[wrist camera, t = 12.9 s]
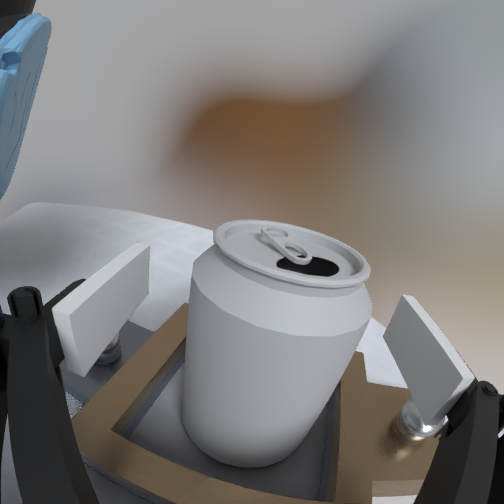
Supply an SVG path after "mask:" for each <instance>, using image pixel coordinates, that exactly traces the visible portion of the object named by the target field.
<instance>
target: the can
mask: <svg viewBox="0 0 504 504" xmlns="http://www.w3.org/2000/svg"><path fill="white" fill-rule="evenodd" d="M213 239H214V243H215V244H214V245H213V246H211V247H210V248H209V249H207V250H206V251H205V252H204V253H202V254H201V255H200V256H199V257H198V258H197V259H196V260H195V261H194V263H193V270H192V279H191V288H190V299H189V310H188V322H187V334H186V349H185V366H184V386H183V418H182V420H183V423H184V426H185V428H186V431H187V433H188V436H189V437H190V438H191V440H192V441H193V442H194V443H195V444H196V445H197V446H198V448H199V449H200V450H201V451H202V452H204V453H206V454H207V455H209V456H211V457H212V458H214V459H216V460H218V461H219V462H221V463H225V464H229V465H233V466H237V467H242V468H250V467H266V466H268V465H271V464H274V463H277V462H279V461H282V460H284V459H285V458H287V457H288V456H289V455H290V454H291V453H292V452H294V451H295V450H296V449H297V448H298V447H299V445H300V444H301V442H302V441H303V439H304V438H305V436H306V435H307V433H308V432H309V430H310V429H311V427H312V426H313V424H314V423H315V421H316V420H317V418H318V416H319V415H320V413H321V412H322V410H323V408H324V407H325V405H326V403H327V402H328V400H329V398H330V397H331V395H332V393H333V391H334V390H335V388H336V386H337V384H338V383H339V381H340V379H341V377H342V375H343V373H344V372H345V370H346V368H347V366H348V364H349V362H350V360H351V358H352V356H353V354H354V352H355V350H356V348H357V346H358V344H359V342H360V340H361V338H362V336H363V334H364V331H365V329H366V327H367V325H368V323H369V320H370V318H371V313H372V308H373V304H372V302H371V299H370V297H369V294H368V292H367V289H366V287H365V284H364V281H366V280H368V279H369V275H370V271H371V268H370V266H369V264H368V263H367V261H366V259H365V258H364V257H363V256H362V255H361V254H360V253H358V252H357V251H356V250H355V249H353V248H352V247H350V246H348V245H346V244H345V243H343V242H341V241H339V240H337V239H334V238H332V237H330V236H327V235H325V234H322V233H319V232H316V231H313V230H310V229H307V228H302V227H299V226H295V225H291V224H286V223H279V222H273V221H266V220H235V221H231V222H227V223H223V224H222V225H220V226H219V227H218V228H217V229H215V230H214V232H213Z"/></svg>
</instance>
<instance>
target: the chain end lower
mask: <svg viewBox="0 0 504 504" xmlns="http://www.w3.org/2000/svg"><path fill="white" fill-rule="evenodd" d="M153 334H154V332H152V331H150V330H147V329H145V328H143V327H140V326H138V325H136V324H134V323H132V322H129V321H126V322H125V324H124V325H123V326H122V327H121V329H120V330H119V331H118V333H117V334H116V335H115V336H114V338H113V339H112V340H111V342H110V343H109V344H108V346H107V347H106V348H105V350H104V351H103V352H102V354H101V355H100V356H99V358H98V359H97V360H96V362H95V363H94V364H93V366H92V367H91V368H90V370H89V371H88V373H87V374H86V375H85V377H82V376H80V375H78V374H76V373H74V372H72V371H70V370H68V368H67V365H66V362H65V359H64V360H63V361H62V362H61V363H60V364H59V366H60V369H61V372H62V379H63V385H64V390H65V391H67V392H68V393H69V394H71V395H72V396H73V397H75V398H76V399H78V400H79V401H80V402H82V403H83V404H85V405H86V404H87V403H88V402H89V400H90V399H91V398H92V397H93V396H94V395H95V394H96V393H97V392H98V391H99V390H100V389H101V388H102V387H103V386H104V385H105V384H106V383H107V382H108V381H109V380H110V379H111V378H112V377H113V375H114V374H115V373H116V372H117V371H118V370H119V369H120V368H121V367H122V366H123V365H124V364H125V363H126V362H127V361H128V360H129V359H130V358H131V357H132V356H133V355H134V354H135V353H136V352H137V351H138V350H139V349H140V348H141V347H142V346H143V345H144V344H145V343H146V342H147V341H148V340H149V338H150V337H151V336H152V335H153ZM185 349H186V348H185ZM184 360H185V350H184V351H183V352H182V354H181V355H180V356H179V358H178V359H177V360H176V361H175V363H174V364H173V365H172V367H171V368H170V369H169V371H168V372H167V373H166V375H165V376H164V377H163V378H162V380H161V381H160V382H159V384H158V385H157V386H156V388H155V389H154V390H153V392H152V393H151V394H150V395H149V397H148V398H147V399H146V401H145V402H144V403H143V405H142V406H141V407H140V408H139V410H138V411H137V412H136V414H135V415H134V416H133V417H132V419H131V420H130V421H129V423H128V424H127V425H126V427H125V428H124V429H123V430H122V432H121V433H120V434H119V435H120V436H122V437H123V438H125V439H127V438H128V437H129V435H130V434H131V433H132V431H133V430H134V429H135V427H136V426H137V425H138V423H139V422H140V420H141V419H142V418H143V416H144V415H145V414H146V412H147V411H148V410H149V408H150V407H151V406H152V404H153V403H154V401H155V400H156V399H157V397H158V396H159V395H160V393H161V392H162V391H163V389H164V388H165V386H166V385H167V384H168V382H169V381H170V380H171V378H172V377H173V376H174V374H175V373H176V371H177V370H178V369H179V367H180V366H181V365H182V363H183V362H184ZM334 394H335V390H334V391H333V393H332V395H331V397H330V398H329V403H328V418H327V430H326V441H325V451H324V460H323V468H322V476H321V483H320V490H319V497H318V501H321V502H325V501H326V494H327V486H328V478H329V469H330V459H331V447H332V434H333V418H334ZM81 457H82V456H81ZM82 460H83V462H84V463H86V464H87V465H89V466H90V467H92V468H93V469H95V470H96V471H98V472H99V473H101V474H102V475H104V476H105V477H107V478H109V479H110V480H112V481H114V482H115V483H117V484H119V485H120V486H122V487H124V488H126V489H128V490H129V491H131V492H133V493H135V494H137V495H139V496H141V497H143V498H145V499H147V500H149V501H151V502H153V503H155V504H165V503H163V502H160V501H158V500H156V499H154V498H152V497H150V496H148V495H146V494H144V493H142V492H140V491H138V490H136V489H134V488H132V487H130V486H128V485H127V484H125V483H123V482H121V481H119V480H118V479H116V478H114V477H113V476H111V475H109V474H108V473H106V472H105V471H103V470H101V469H100V468H98V467H97V466H95V465H94V464H92V463H91V462H89V461H88V460H86V459H85V458H84V457H82Z"/></svg>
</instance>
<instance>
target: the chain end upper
mask: <svg viewBox="0 0 504 504" xmlns="http://www.w3.org/2000/svg"><path fill="white" fill-rule="evenodd" d="M188 310H189V304H187V303H184V304H183V305H182V306H181V307H180V308H179V309H178V310H177V311H176V312H175V313H174V314H173V315H172V316H171V317H170V318H169V319H168V320H167V321H166V322H165V323H164V324H163V325H162V326H161V327H160V328H159V329H158V330H157V331H156V332H155V333H154V334H153V335H152V336H151V337H150V338H149V340H148V341H147V342H146V343H145V344H144V345H143V346H142V347H141V348H140V349H139V350H138V351H137V352H136V353H135V354H134V355H133V356H132V357H131V358H130V359H129V360H128V361H127V362H126V363H125V364H124V365H123V366H122V367H121V368H120V369H119V370H118V371H117V372H116V373H115V374H114V375H113V377H112V378H111V379H110V380H109V381H108V382H107V383H106V384H105V385H104V386H103V387H102V388H101V389H100V390H99V391H98V392H97V393H96V394H95V395H94V396H93V397H92V398H91V399H90V400H89V402H88V403H87V404H86V405H85V406H84V407H83V408H82V409H81V410H80V411H79V412H78V413H77V414H76V415H75V416H74V417H73V418H72V419H71V423H72V427H73V431H74V434H75V438H76V441H77V445H78V448H79V451H80V454H81V456H82V457H84V458H85V459H86V460H88V461H89V462H91V463H92V464H94V465H95V466H97V467H98V468H100V469H101V470H103V471H105V472H106V473H108V474H109V475H111V476H113V477H114V478H116V479H118V480H119V481H121V482H123V483H125V484H127V485H128V486H130V487H132V488H134V489H136V490H138V491H140V492H142V493H144V494H146V495H148V496H150V497H152V498H154V499H156V500H158V501H160V502H163V503H165V504H372V497H381V496H405V495H417V494H418V493H419V491H420V489H421V487H422V484H423V482H424V480H425V478H426V475H427V473H428V470H429V468H430V465H431V463H432V460H433V457H434V454H435V452H436V449H437V446H438V443H439V440H438V439H439V438H440V437H441V434H440V435H438V436H437V437H436V438H434V436H435V434H436V433H437V432H438V431H439V430H440V429H441V428H442V427H443V426H444V425H443V423H444V420H445V417H444V418H443V419H442V420H441V421H440V422H439V424H438V425H432V426H426V427H425V425H424V423H423V420H422V418H421V416H420V413H419V411H418V409H417V406H416V404H415V402H414V400H413V397H412V395H411V393H410V391H409V389H406V388H399V387H392V386H385V385H379V384H373V383H368V382H367V379H366V370H365V363H364V355H363V353H362V352H357V351H355V352H354V354H353V356H352V358H351V360H350V362H349V364H348V366H347V368H346V370H345V372H344V373H343V375H342V377H341V379H340V381H339V383H338V384H337V386H336V388H335V394H334V418H333V434H332V447H331V459H330V469H329V478H328V486H327V494H326V501H325V502H321V501H313V500H305V499H298V498H292V497H286V496H281V495H275V494H271V493H266V492H262V491H257V490H253V489H249V488H245V487H242V486H238V485H235V484H231V483H228V482H225V481H222V480H218V479H215V478H212V477H210V476H207V475H204V474H201V473H198V472H196V471H193V470H191V469H188V468H186V467H183V466H181V465H178V464H176V463H174V462H171V461H169V460H167V459H165V458H162V457H160V456H158V455H156V454H154V453H152V452H150V451H148V450H146V449H144V448H142V447H140V446H138V445H136V444H134V443H132V442H131V441H129V440H127V439H125V438H123V437H122V436H120V435H119V434H120V433H121V432H122V430H123V429H124V428H125V427H126V425H127V424H128V423H129V421H130V420H131V419H132V417H133V416H134V415H135V414H136V412H137V411H138V410H139V408H140V407H141V406H142V405H143V403H144V402H145V401H146V399H147V398H148V397H149V395H150V394H151V393H152V392H153V390H154V389H155V388H156V386H157V385H158V384H159V382H160V381H161V380H162V378H163V377H164V376H165V375H166V373H167V372H168V371H169V369H170V368H171V367H172V365H173V364H174V363H175V361H176V360H177V359H178V358H179V356H180V355H181V354H182V352H183V351H184V350H185V348H186V334H187V322H188Z"/></svg>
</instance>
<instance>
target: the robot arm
mask: <svg viewBox="0 0 504 504" xmlns="http://www.w3.org/2000/svg"><path fill="white" fill-rule="evenodd" d="M35 2H36V0H0V200H1V199H2V197H3V196H4V194H5V192H6V190H7V188H8V186H9V183H10V181H11V178H12V175H13V172H14V169H15V166H16V162H17V159H18V156H19V152H20V148H21V145H22V141H23V137H24V134H25V130H26V126H27V122H28V119H29V115H30V111H31V108H32V104H33V100H34V97H35V93H36V89H37V86H38V82H39V79H40V75H41V72H42V68H43V65H44V60H45V57H46V53H47V45H48V42H49V38H50V35H51V21H50V19H49V18H47V17H45V16H42V14H40V13H34V14H32V11H33V8H34V5H35ZM149 257H150V245H147V244H143V243H138V242H136V243H135V244H133V245H132V246H131V247H129V248H128V249H126V250H125V251H124V252H122V253H121V254H120V255H118V256H117V257H116V258H114V259H113V260H112V261H110V262H109V263H108V264H106V265H105V266H104V267H102V268H101V269H100V270H98V271H97V272H96V273H95V274H93V275H92V276H91V277H89V278H88V279H87V280H86V279H81V280H78V281H75V282H73V283H72V284H70V285H69V286H68V287H66V288H65V289H64V290H63V291H61V292H60V294H57V295H56V296H55V297H54V298H53V299H51V300H50V301H49V302H48V303H46V304H45V305H44V306H43V303H42V298H41V294H40V291H39V290H38V289H37V288H35V287H31V286H24V287H19V288H17V289H15V290H13V291H12V292H11V293H9V295H8V297H7V300H8V304H9V307H10V311H11V315H7V314H3V313H2V310H1V306H0V504H1V461H2V449H3V440H4V432H5V426H6V420H7V414H8V421H9V433H10V441H11V449H12V456H13V462H14V467H15V472H16V477H17V482H18V486H19V490H20V494H21V497H22V501H23V504H100V503H99V501H98V499H97V497H96V494H95V492H94V490H93V487H92V485H91V482H90V480H89V477H88V474H87V472H86V469H85V466H84V463H83V460H82V457H81V454H80V451H79V448H78V445H77V441H76V438H75V434H74V431H73V427H72V423H71V419H70V415H69V410H68V406H67V401H66V396H65V391H64V385H63V379H62V372H61V369H60V366H59V364H60V363H61V362H62V361H63V360H64V359H65V362H66V365H67V368H68V370H70V371H72V372H74V373H76V374H78V375H80V376H82V377H85V375H86V374H87V373H88V371H89V370H90V368H91V367H92V366H93V364H94V363H95V362H96V360H97V359H98V358H99V356H100V355H101V354H102V352H103V351H104V350H105V348H106V347H107V346H108V344H109V343H110V342H111V340H112V339H113V338H114V336H115V335H116V334H117V333H118V331H119V330H120V329H121V327H122V326H123V325H124V324H125V322H126V321H127V320H128V318H129V317H130V316H131V315H132V313H133V312H134V311H135V310H136V308H137V307H138V306H139V305H140V303H141V302H142V301H143V300H144V298H145V297H146V296H147V295H148V292H149ZM383 338H384V340H385V342H386V344H387V346H388V348H389V349H390V351H391V353H392V355H393V357H394V359H395V361H396V364H397V366H398V368H399V370H400V372H401V374H402V376H403V378H404V380H405V382H406V384H407V387H408V389H409V391H410V393H411V395H412V397H413V400H414V402H415V404H416V406H417V409H418V411H419V413H420V416H421V418H422V420H423V423H424V425H425V427H426V426H432V425H438V424H439V422H440V421H441V420H442V419H443V418H444V417H445V416H447V418H448V421H447V422H446V423H445V425H444V426H443V427H442V428H441V429H440V430H439V431H438V432H437V433H436V434H435V436H434V438H436V437H437V436H438V435H440V434H441V437H440V438H439V439H438V440H439V443H438V446H437V449H436V452H435V454H434V457H433V460H432V463H431V465H430V468H429V470H428V473H427V475H426V478H425V480H424V482H423V484H422V487H421V489H420V491H419V493H418V495H417V497H416V499H415V502H414V504H504V434H503V435H502V436H501V437H500V438H499V437H498V434H499V433H500V432H501V431H502V429H503V428H504V395H500V394H498V391H497V390H496V388H495V387H494V386H493V385H492V384H490V383H489V382H487V381H480V382H478V380H477V379H476V377H475V376H474V374H473V373H472V371H471V370H470V369H469V367H468V366H467V364H465V361H464V360H463V359H462V358H461V356H460V355H459V353H458V352H457V351H456V350H455V349H454V347H453V346H452V345H451V343H450V342H449V340H448V339H447V338H446V337H445V335H444V334H443V333H442V331H441V330H440V329H439V328H438V326H437V325H436V324H435V323H434V321H433V320H432V319H431V318H430V317H429V315H428V314H427V313H426V312H425V310H424V309H423V308H422V307H421V305H420V304H419V303H418V302H417V301H416V299H415V298H414V297H413V296H408V295H402V296H401V298H400V300H399V303H398V305H397V307H396V309H395V312H394V314H393V316H392V318H391V320H390V323H389V325H388V327H387V329H386V331H385V333H384V335H383Z"/></svg>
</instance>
